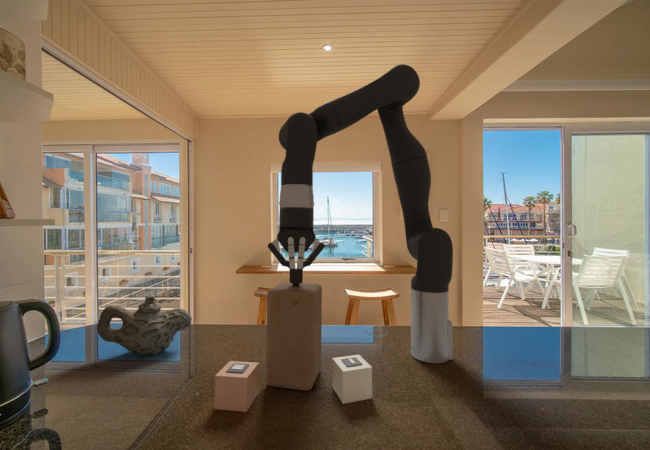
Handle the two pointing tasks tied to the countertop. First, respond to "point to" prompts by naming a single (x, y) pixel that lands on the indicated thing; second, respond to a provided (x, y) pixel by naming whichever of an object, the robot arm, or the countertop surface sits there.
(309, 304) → the wooden block
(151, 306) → the teapot
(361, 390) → the cream cube
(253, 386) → the pink cube
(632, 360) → the countertop surface
